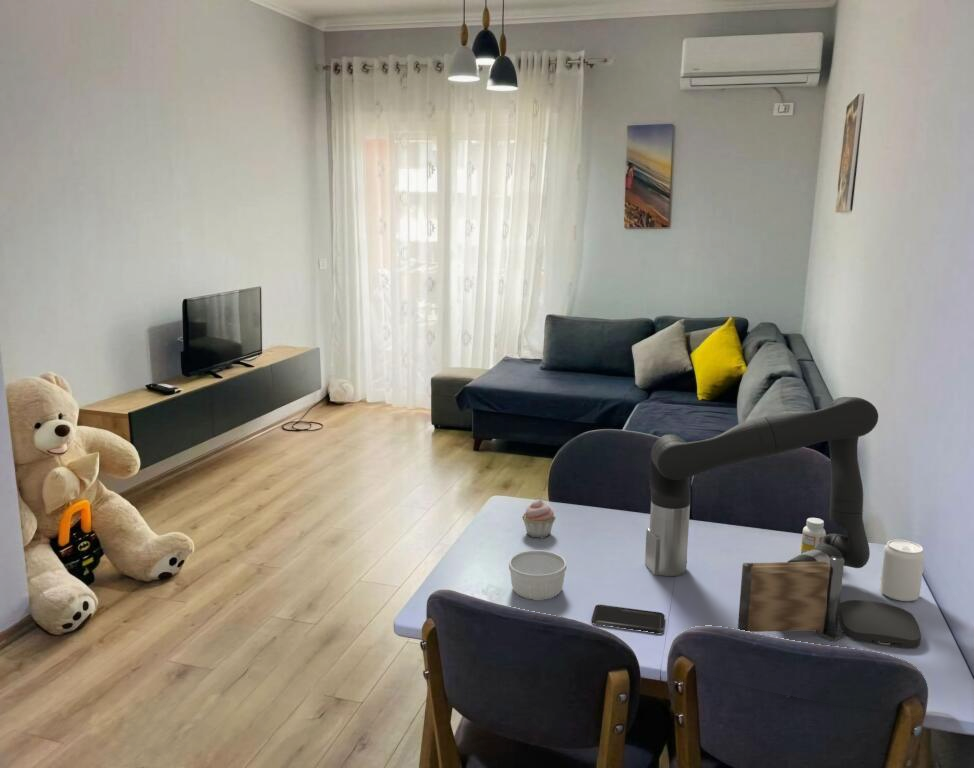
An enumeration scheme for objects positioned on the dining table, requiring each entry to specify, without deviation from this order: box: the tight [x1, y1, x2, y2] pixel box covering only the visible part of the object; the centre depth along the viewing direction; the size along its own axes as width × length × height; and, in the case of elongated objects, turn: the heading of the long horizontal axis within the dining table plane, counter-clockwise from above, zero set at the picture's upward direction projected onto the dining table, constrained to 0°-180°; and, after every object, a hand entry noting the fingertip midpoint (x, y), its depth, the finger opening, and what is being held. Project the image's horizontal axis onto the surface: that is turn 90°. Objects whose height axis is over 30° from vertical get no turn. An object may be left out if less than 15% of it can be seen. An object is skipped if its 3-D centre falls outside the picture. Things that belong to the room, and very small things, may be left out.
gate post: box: [814, 556, 845, 643], centre depth 167 cm, size 22×6×17 cm, turn 40°
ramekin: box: [508, 549, 567, 601], centre depth 180 cm, size 13×13×7 cm
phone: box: [590, 604, 666, 634], centre depth 168 cm, size 8×1×15 cm
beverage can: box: [879, 539, 926, 602], centre depth 177 cm, size 8×8×12 cm
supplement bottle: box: [800, 517, 827, 554], centre depth 197 cm, size 5×5×10 cm
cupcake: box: [521, 498, 557, 538], centre depth 211 cm, size 9×9×10 cm
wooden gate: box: [737, 561, 830, 633], centre depth 159 cm, size 18×2×14 cm, turn 92°
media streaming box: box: [838, 599, 922, 650], centre depth 164 cm, size 15×15×3 cm
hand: (765, 594), depth 162 cm, fingers closed
